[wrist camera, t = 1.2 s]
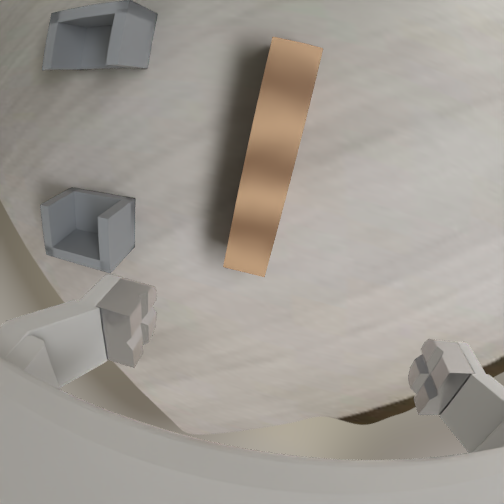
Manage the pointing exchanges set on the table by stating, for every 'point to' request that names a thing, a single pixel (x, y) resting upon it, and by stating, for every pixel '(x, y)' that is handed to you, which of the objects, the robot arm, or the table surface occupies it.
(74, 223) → the endcap
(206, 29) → the table surface
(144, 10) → the endcap
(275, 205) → the slat
